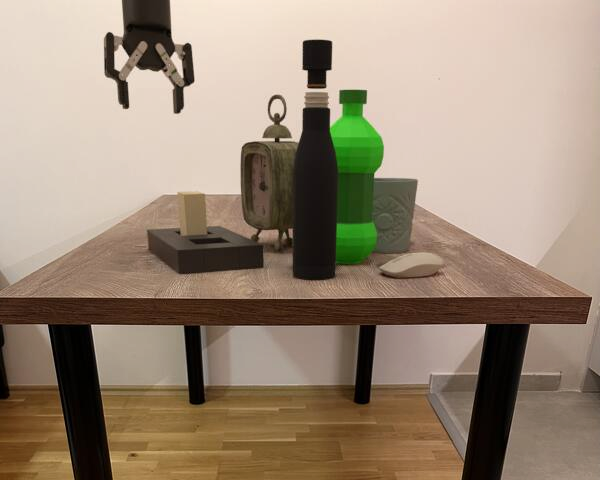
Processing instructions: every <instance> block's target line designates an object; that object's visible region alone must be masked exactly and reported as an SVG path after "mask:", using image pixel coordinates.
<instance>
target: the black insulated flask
mask: <svg viewBox="0 0 600 480" xmlns="http://www.w3.org/2000/svg"><path fill="white" fill-rule="evenodd" d="M332 65H333V41H332V40H329V39H305V40H303V41H302V67H301V69H302V71H306V72H307V80H306V81H307V84H306V87H307V89H311V90H325V89H327V87H328V85H327V72H328V71H332V70H333V66H332ZM303 97H304V100H305V101H303V104H304V107H302V121H301V123H302V125H301V127H302V128H301V129H302V130H301V134H300V137H299V141H298V142H299V143H298V147H297V150H296V155H295V160H294V166H293V229H292V239H293V245H292V277H294V278H297V279H300V280H309V281H310V280H311V281H320V280H321V281H322V280H329V279H333V278H335V277H336V271H337V270H336V266H337V263H336V236H337V202H338V165H337V158H336V152H335V148H334V144H333V140H332V137H331V133H330V127H331V108H330V107H329V104H330V102H329V99H330V96H329V92H326V91H325V92H324V91H306V92H305V95H304V96H303Z"/></svg>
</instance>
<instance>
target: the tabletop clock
mask: <svg viewBox="0 0 600 480" xmlns="http://www.w3.org/2000/svg"><path fill="white" fill-rule="evenodd" d="M275 100H280V102H281V103H282V105H283V112H282V115H281V114H280V113H279V112H275V113H274V114H273V115H272V114H271V107H272V104H273V102H274V101H275ZM287 110H288V109H287V102H286V100H285V98H284V97H283V95H281V94H274V95H271V97H270V98H269V100H268V103H267V115H268V119H269V120H270V121H271V122H272V123H273V124H271V125H269V126H267V127H266V128H265V129H264V131H263V134H262V139H274V140H272V141H271V140H269V141H268V140H266V141H265V140H264V141H263V140H260V141H259V140H256V141H255V140H254V141H248V142H246V143H244V144H243V145H242V146H241V150H240V164H239V165H240V195H241V196H240V197H241V208H242V215H243V220H244V221H245V223H246V224H247V225H248V226H250V227H251V228H253V229H256V230H257V231H256V233H255V234H254V233H253V234H252V235H251V236H250V239H251V240H253V241H256V242H258V243H259V242H260V237H259V236H260V234H261V233H262V231H277V232H278V235H277V242H276V243H275V244H274V246H273V249H274V250H275V252H277V253H281V252H282V251H283V250H284V245H283V243H282V241H283V237H284V234H285V237H286V238H285V239H284V244H285V246H287V247H293V237H290V231H289V230H293V166H294V160H295V155H296V150H297V147H298V143H299V141H294V140H281V139H293V136H292V133H291V130H290V129H289V128H288V127H287V126H286V125H283V124H281V122H283V121H284V120H285V119H286V115H287Z"/></svg>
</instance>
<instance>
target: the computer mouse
mask: <svg viewBox="0 0 600 480" xmlns="http://www.w3.org/2000/svg"><path fill="white" fill-rule="evenodd" d="M443 266H444V260H443V259H442V258H441V257H440V256H439V255H436V254H435V253H430V252H411V253H406V254H402V255H400V256H397V257H395V258H393V259H391V260H389V261H387V262H386V263H384V264H383V265H381V266H379V270H380V272H381V273H382V274H384V275H386V276H388V277H391V278H396V279H397V278H398V279H400V278H416V277H417V278H418V277H419V278H420V277H428V276H432V275H434V274H436V273H437V272H438V271H439V270H440V269H441V268H442V267H443Z"/></svg>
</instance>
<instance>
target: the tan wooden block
mask: <svg viewBox="0 0 600 480" xmlns="http://www.w3.org/2000/svg"><path fill="white" fill-rule="evenodd" d="M176 193H177V205H178V206H177V207H178V219H179V228H180V234H181V236H189V235H207V227H208V224H207V223H208V221H207V206H206V193H204V192H201V191H199V190H195V191H177V192H176Z"/></svg>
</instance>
